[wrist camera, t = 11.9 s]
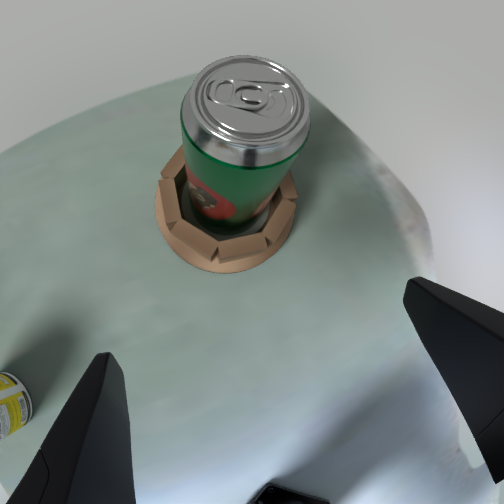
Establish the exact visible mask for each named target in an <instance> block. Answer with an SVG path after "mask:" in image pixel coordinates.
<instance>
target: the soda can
mask: <svg viewBox="0 0 504 504" xmlns="http://www.w3.org/2000/svg"><path fill="white" fill-rule="evenodd" d="M180 120H181V130H182V140H183V150H184V159H185V168H186V176H187V184H188V193H189V200H190V207H191V211H192V213H193V215H194V217H195V219H196V220H197V221H198V223H199V224H200V225H201V226H203V227H204V228H205V229H207V230H208V231H210V232H213V233H215V234H219V235H227V236H229V235H236V234H240V233H242V232H245V231H247V230H248V229H250V228H251V227H252V226H253V225H255V223H256V222H257V221H258V220H259V218H260V216H261V215H262V213H263V211H264V210H265V208H266V207H267V205H268V203H269V202H270V200H271V198H272V197H273V195H274V193H275V192H276V190H277V189H278V187H279V185H280V184H281V182H282V180H283V179H284V177H285V176H286V174H287V172H288V171H289V169H290V167H291V166H292V164H293V163H294V161H295V159H296V158H297V156H298V154H299V153H300V151H301V150H302V148H303V146H304V145H305V143H306V141H307V139H308V136H309V133H310V126H311V120H310V113H309V99H308V95H307V92H306V90H305V88H304V86H303V85H302V83H301V82H300V80H299V79H298V78H297V77H296V76H295V75H294V74H293V73H292V72H291V71H290V70H288V69H287V68H285V67H284V66H282V65H281V64H278V63H276V62H274V61H272V60H269V59H266V58H262V57H257V56H249V55H239V56H231V57H226V58H223V59H220V60H217V61H215V62H213V63H211V64H210V65H208V66H207V67H205V68H204V69H203V70H202V71H201V72H200V73H199V74H198V75H197V77H196V78H195V80H194V82H193V84H192V86H191V87H190V88H189V90H188V91H187V93H186V94H185V96H184V99H183V101H182V105H181V110H180Z"/></svg>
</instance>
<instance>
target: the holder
mask: <svg viewBox="0 0 504 504" xmlns="http://www.w3.org/2000/svg"><path fill="white" fill-rule="evenodd" d="M160 173H161V176H162V177H161V179H160V180H158V182H159V185H158V188H157V192H156V197H155V211H156V218H157V222H158V225H159V228H160V230H161V233H162V234H163V236H164V238H165V240H166V241H167V243H168V244H169V246H170V247H171V248H172V250H173V251H174V252H175V253H176V254H177V255H178V256H179V257H181V258H182V259H183V260H185V261H186V262H187V263H189V264H191V265H193V266H195V267H197V268H199V269H202V270H205V271H209V272H213V273H236V272H242V271H245V270H248V269H251V268H253V267H255V266H258V265H259V264H261V263H263V262H264V261H266V260H267V259H268V258H269V257H271V256H272V255H273V254H274V253H275V252H276V251H277V250H278V249H279V248H280V247H281V246H282V244H283V243H284V241H285V240H286V238H287V236H288V234H289V232H290V230H291V227H292V224H293V221H294V215H295V208H296V206H297V205H296V204H295V200H296V199H297V197H298V195H297V192H296V189H295V186H294V182H293V179H292V176H291V172H290V169H289V171H288V172H287V174H286V176H285V177H284V179H283V180H282V182H281V184H280V185H279V187H278V189H277V190H276V192H275V193H274V195H273V197H272V198H271V200H270V202H269V203H268V205H267V207H266V208H265V210H264V211H263V213H262V215H261V216H260V218H259V220H258V221H257V222H256V223H255V225H253V226H252V227H251V228H250V229H248V230H247V231H245V232H242V233H240V234H236V235H229V236H227V235H219V234H215V233H213V232H210V231H208V230H207V229H205V228H204V227H203V226H201V225H200V224H199V223H198V221H197V220H196V219H195V217H194V215H193V213H192V211H191V207H190V200H189V193H188V184H187V176H186V168H185V159H184V150H183V144H182V145H181V147H180V148H179V149H178V150H177V152H176V153H175V154H174V155H173V157H172V158H171V159H170V160H169V162H168V163H167V164H166V166H165V167H164V168H163V170H162V171H161V172H160Z"/></svg>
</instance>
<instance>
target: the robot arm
mask: <svg viewBox="0 0 504 504" xmlns="http://www.w3.org/2000/svg"><path fill="white" fill-rule="evenodd" d="M403 304H404V307H405V309H406V311H407V313H408V315H409V317H410V319H411V321H412V323H413V325H414V327H415V329H416V331H417V333H418V335H419V337H420V339H421V341H422V343H423V345H424V347H425V349H426V350H427V352H428V354H429V355H430V357H431V359H432V360H433V362H434V364H435V365H436V367H437V369H438V371H439V372H440V374H441V376H442V378H443V379H444V381H445V383H446V385H447V387H448V388H449V390H450V392H451V394H452V396H453V398H454V399H455V401H456V403H457V405H458V407H459V409H460V411H461V412H462V414H463V416H464V418H465V420H466V422H467V424H468V426H469V428H470V430H471V432H472V434H473V436H474V438H475V441H476V443H477V445H478V447H479V449H480V451H481V454H482V456H483V458H484V460H485V462H486V465H487V467H488V469H489V471H490V474H491V476H492V478H493V481H494V482H495V484H497V483H499V482H500V481H502V480H503V479H504V313H502V312H500V311H498V310H496V309H494V308H491V307H489V306H487V305H485V304H482V303H480V302H478V301H476V300H474V299H471V298H469V297H467V296H464V295H462V294H460V293H458V292H455V291H453V290H451V289H448V288H446V287H444V286H441V285H439V284H437V283H434V282H432V281H430V280H427V279H425V278H423V277H415V278H412V279H409V280H408V282H407V285H406V289H405V293H404V297H403ZM40 448H41V449H39V450H38V452H37V454H36V456H35V457H34V459H33V461H32V463H31V464H30V466H29V468H28V470H27V472H26V473H25V475H24V476H23V478H22V479H21V481H20V483H19V484H18V486H17V487H16V489H15V490H14V492H13V494H12V495H11V497H10V498H9V500H8V501H7V503H6V504H136V499H135V490H134V479H133V468H132V454H131V435H130V421H129V413H128V406H127V399H126V391H125V382H124V375H123V371H122V369H121V367H120V366H119V364H118V363H117V361H116V359H115V358H114V356H113V355H112V353H110V352H105V353H99V354H97V355H96V356H95V357H94V359H93V360H92V362H91V363H90V365H89V367H88V368H87V370H86V371H85V373H84V374H83V376H82V378H81V379H80V381H79V382H78V384H77V386H76V387H75V389H74V390H73V392H72V394H71V395H70V397H69V399H68V400H67V402H66V403H65V405H64V407H63V408H62V410H61V412H60V414H59V415H58V417H57V419H56V420H55V422H54V424H53V425H52V427H51V429H50V431H49V432H48V434H47V436H46V438H45V439H44V441H43V443H42V445H41V447H40ZM269 488H273V489H272V490H268V489H269ZM248 504H330V502H329V501H328V500H325V499H321V498H317V497H314V496H310V495H307V494H303V493H300V492H297V491H294V490H291V489H287V488H284V487H281V486H279V485H276V484H272V483H269V484H266V485H265V486H264V487H263V489H262V490H261V491H260V492H259V494H258V495H257V496H256V498H255V499H254V500H252V501H250V502H249V503H248Z"/></svg>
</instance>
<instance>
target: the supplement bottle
mask: <svg viewBox="0 0 504 504" xmlns="http://www.w3.org/2000/svg"><path fill="white" fill-rule="evenodd" d="M31 415H32V403H31V399H30V396H29V394H28V392H27V390H26V388H25V387H24V386H23V384H22V383H21V382H20V381H19V380H18V379H17V378H16V377H15V376H13V375H11V374H9V373H5V372H1V373H0V441H1V440H2V439H4V438H6V437H7V436H9V435H10V434H12V433H13V432H15V431H17V430H18V429H20V428H21V427H23V426H24V425H26V424H27V423H28V422H29V420H30V418H31Z"/></svg>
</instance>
